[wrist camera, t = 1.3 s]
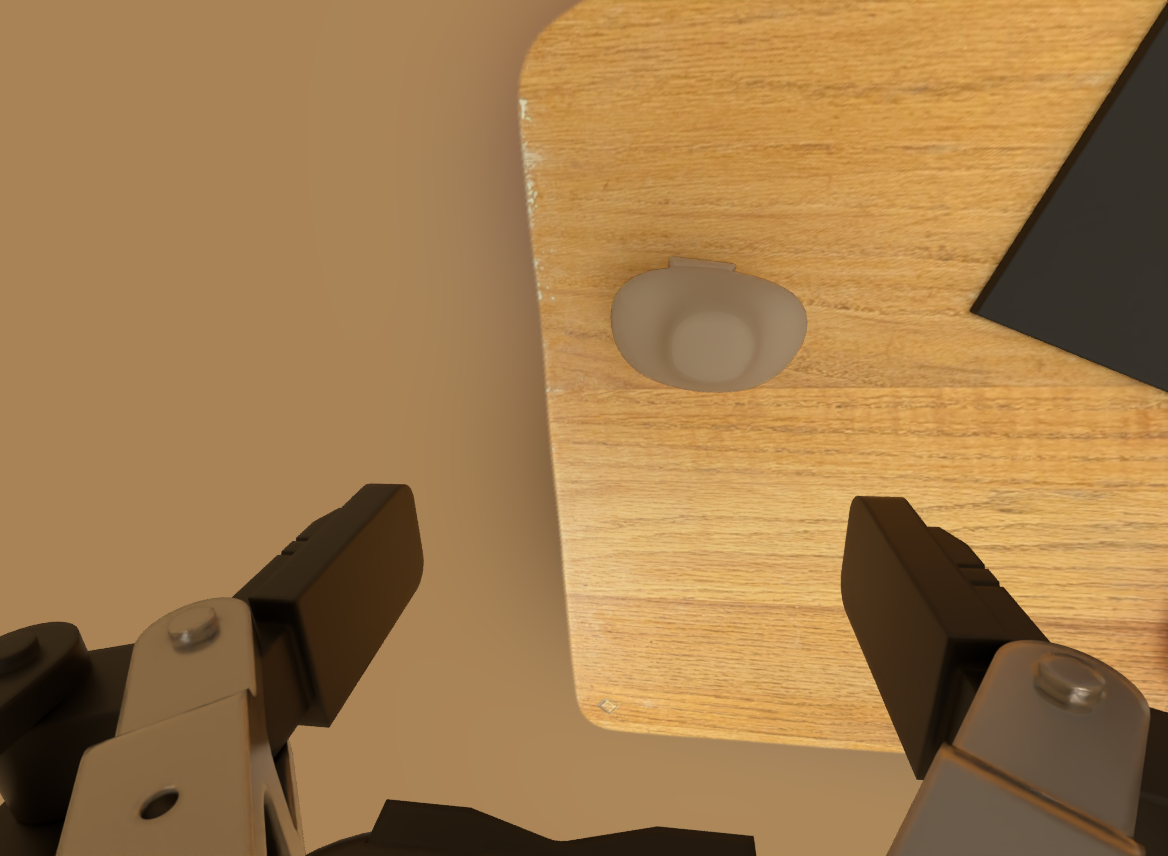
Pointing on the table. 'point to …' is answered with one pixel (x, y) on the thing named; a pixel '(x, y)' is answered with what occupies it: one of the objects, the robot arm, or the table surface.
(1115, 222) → the mat
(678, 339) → the grey rounded body
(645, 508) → the table surface
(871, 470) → the table surface
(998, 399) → the table surface
